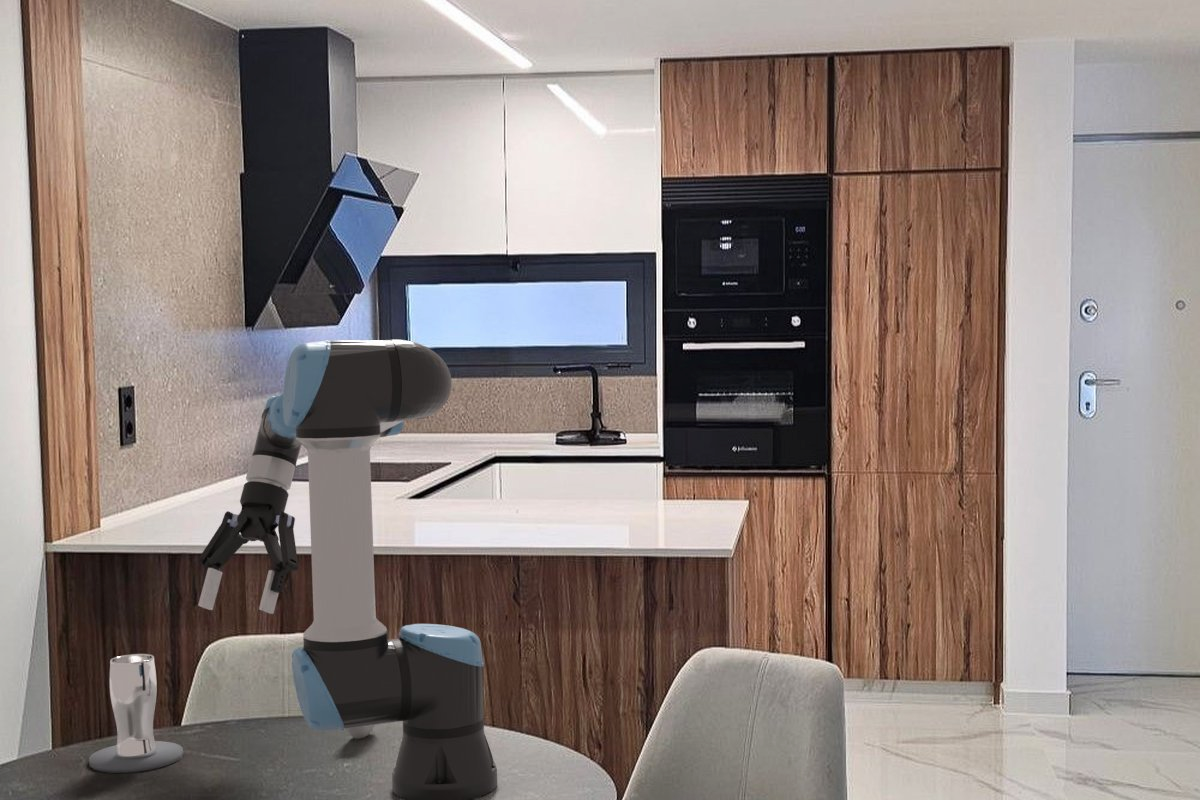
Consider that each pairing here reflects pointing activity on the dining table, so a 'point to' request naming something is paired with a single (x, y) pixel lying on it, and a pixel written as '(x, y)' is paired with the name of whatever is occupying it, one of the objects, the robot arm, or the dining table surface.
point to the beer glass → (134, 704)
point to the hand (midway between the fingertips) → (235, 610)
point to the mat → (111, 763)
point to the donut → (360, 731)
